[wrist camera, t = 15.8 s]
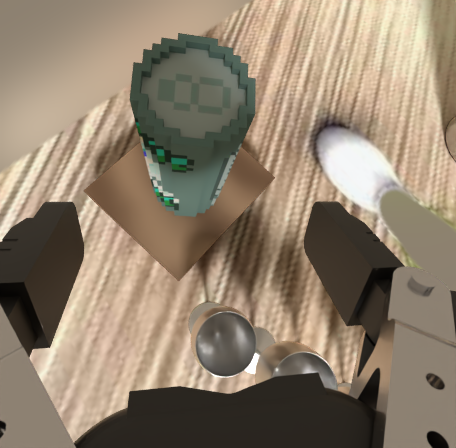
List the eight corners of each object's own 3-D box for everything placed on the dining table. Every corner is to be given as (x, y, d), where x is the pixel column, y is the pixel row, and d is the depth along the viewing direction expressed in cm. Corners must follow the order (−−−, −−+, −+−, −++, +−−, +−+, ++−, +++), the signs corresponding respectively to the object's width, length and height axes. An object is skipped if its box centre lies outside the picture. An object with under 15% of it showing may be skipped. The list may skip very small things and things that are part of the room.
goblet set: (175, 337, 31) (174, 372, 19) (203, 287, 33) (220, 288, 20) (402, 467, 32) (549, 585, 20) (420, 413, 34) (568, 491, 21)
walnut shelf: (188, 123, 36) (189, 98, 31) (262, 192, 36) (274, 177, 31) (97, 204, 33) (83, 190, 28) (178, 281, 32) (178, 280, 28)
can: (157, 153, 30) (137, 27, 15) (219, 159, 31) (255, 44, 16) (152, 214, 28) (125, 139, 14) (217, 218, 29) (254, 151, 15)
